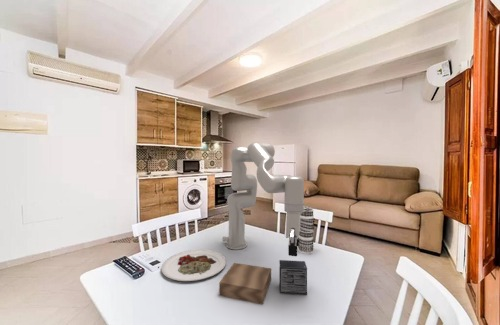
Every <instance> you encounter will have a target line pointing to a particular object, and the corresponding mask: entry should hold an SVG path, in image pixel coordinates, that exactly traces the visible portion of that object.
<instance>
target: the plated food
mask: <svg viewBox="0 0 500 325" xmlns="http://www.w3.org/2000/svg"><path fill="white" fill-rule="evenodd" d="M226 264H227V259H226V257H225V256H224V254H222V253H221V252H218V251H215V250H211V249H190V250H186V251H182V252H179V253H176V254H174V255H171V256H170V257H168V258H167V259H166V260H164V262H163V263H162V265H161V268H160V271H161V273H162V275H164V276H165V277H167V278H168V279H171V280H174V281H179V282H191V281H192V282H194V281H200V280H205V279H208V278H211V277H213V276H215V275H217V274H219V273H220V272H221V271H222V270H223V269H224V268H225V267H226V266H227V265H226Z"/></svg>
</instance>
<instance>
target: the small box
mask: <svg viewBox="0 0 500 325" xmlns="http://www.w3.org/2000/svg"><path fill="white" fill-rule="evenodd" d="M278 271H279V275H278V276H279V294H286V295H287V294H289V295H299V296H301V295H303V296H308V266H307V263H306V261H304V260H286V259H280V260H279V270H278Z"/></svg>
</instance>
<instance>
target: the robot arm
mask: <svg viewBox="0 0 500 325" xmlns="http://www.w3.org/2000/svg"><path fill="white" fill-rule="evenodd" d="M275 153H276V151H275V147H274V146H273V145H272V144H271V143H269V142H252V143H250V144H249V145H248V146H237V147H234V148H232V150H231V152H230V161H231V179H230V188H231V189H232V191H235V192H232V193H231V194H229V195H228V196H227V200H226V202H227V209H228V236H223V237H222V242H226V243H225V247H226V248H228V249H230V250H236V251H237V250H242V249H245V248H246V247H248V243H247V241H246V240H245V236H246V235H245V234H246V233H245V227H246V226H245V224H246V219H245V218H246V216H245V214H244V212H243V210H242V209H246V208H253V207H254V206H255V205H256V201H257V193H258V183H259V185H260V187H261V188H262V190H264V191H265V192H266V193H268V194H277V193H278V194H280V193H283V194H284V208H283V209H284V212H285V213H286V221H285V227H286V228H285V238H286V239H289V240H288V253H287V254H288V256H291V257H297V256H298V246H299V233H300V221H301V213H303V212H304V206H305V180H304V177H303V176H297V175H295V176H294V175H290V174H269V172H268V171H270V170H271V169H272V168H273V167H274V164H275V159H274V157H275ZM246 163H254V164H255V166H256V167H257V169H256V176H255V175H253V174H247V171H248V170H247V165H246Z"/></svg>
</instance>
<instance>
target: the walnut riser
mask: <svg viewBox="0 0 500 325" xmlns="http://www.w3.org/2000/svg"><path fill="white" fill-rule="evenodd" d="M271 281H272V268H270V267H265V266H257V265H251V264H244V263H237V262H233V263H232V264H231V266H230V268H229V269H228V270H227V272H226V273H225V274H224V276H223V277H221V280H220V281H219V284H218V285H219V286H218V287H219V288H218V289H219V290H218V291H219V292H218V294H219V296H222V297H227V298H232V299H237V300H241V301H246V302H251V303H256V304H262V305H263V304H264V301H265V298H266V296H267V294H268V290H269V287H270V283H271Z"/></svg>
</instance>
